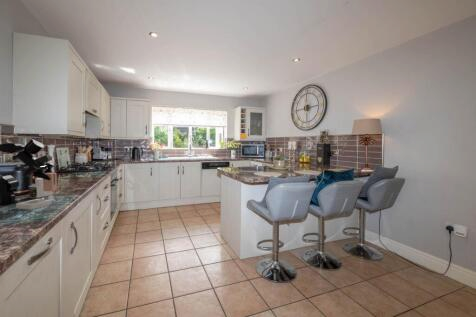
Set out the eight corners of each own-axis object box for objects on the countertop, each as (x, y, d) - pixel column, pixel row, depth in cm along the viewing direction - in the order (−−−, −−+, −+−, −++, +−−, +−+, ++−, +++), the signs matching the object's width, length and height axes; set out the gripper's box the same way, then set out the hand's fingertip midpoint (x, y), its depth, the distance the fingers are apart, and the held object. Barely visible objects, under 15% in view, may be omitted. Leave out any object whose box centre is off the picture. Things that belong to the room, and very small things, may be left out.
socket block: (16, 208, 118) (16, 203, 118) (37, 203, 128) (36, 198, 128) (31, 209, 116) (30, 205, 116) (51, 204, 126) (50, 200, 126)
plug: (43, 191, 128) (42, 173, 127) (48, 189, 132) (47, 172, 132) (52, 191, 129) (52, 173, 128) (57, 189, 133) (56, 172, 132)
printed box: (28, 197, 141) (27, 178, 140) (41, 194, 148) (40, 176, 147) (36, 198, 139) (35, 179, 138) (49, 195, 146) (48, 177, 145)
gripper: (28, 150, 119) (53, 171, 122) (50, 149, 137) (71, 167, 140) (12, 165, 118) (37, 186, 121) (36, 162, 136) (57, 180, 139)
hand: (52, 179), depth 130 cm, fingers closed on plug, 4 cm apart
